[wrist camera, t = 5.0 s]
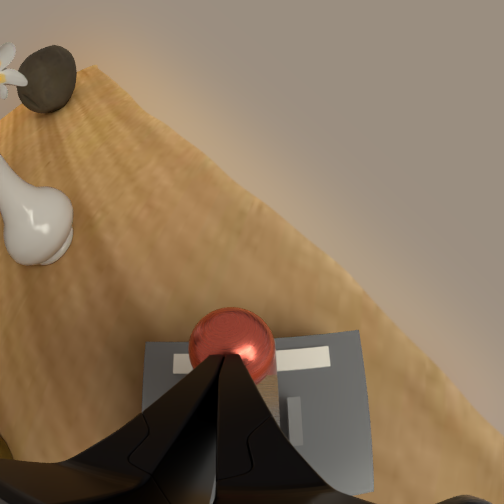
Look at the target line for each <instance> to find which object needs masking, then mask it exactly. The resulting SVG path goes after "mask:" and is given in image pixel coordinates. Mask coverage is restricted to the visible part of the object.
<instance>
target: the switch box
mask: <svg viewBox="0 0 504 504" xmlns="http://www.w3.org/2000/svg"><path fill="white" fill-rule="evenodd" d="M274 339H275V346H276V361H277V378H278V395H279V413H280V428H281V430H282V432H283V433H284V435H285V436H286V438H287V439H288V440H289V441H290V443H291V444H292V445H293V446H294V448H295V449H296V450H297V451H298V452H299V453H300V455H301V456H302V457H303V458H304V459H305V460H306V461H307V462H308V463H309V465H310V466H311V467H312V468H313V469H314V470H315V471H316V472H317V473H318V474H319V475H320V476H321V477H322V478H323V479H324V480H325V481H326V482H327V483H328V484H329V485H330V486H332V487H333V488H334V489H336V490H338V491H340V492H342V493H345V494H348V495H351V496H353V495H359V494H363V493H368V492H373V491H374V476H373V455H372V439H371V426H370V415H369V404H368V395H367V386H366V378H365V370H364V362H363V355H362V348H361V341H360V335H359V330H355V331H346V332H338V333H329V334H319V335H309V336H298V337H286V338H274ZM188 346H189V342H146V345H145V358H144V373H143V393H142V411H144V410H145V409H146V408H147V407H149V406H150V405H151V404H152V403H154V402H155V401H156V400H157V399H158V398H160V397H161V396H162V395H163V394H165V393H166V392H167V391H168V390H169V389H171V388H172V387H173V386H174V385H175V384H177V383H178V382H179V381H180V380H181V379H182V378H184V377H185V376H186V375H187V374H188V373H190V372H191V370H192V365H191V363H190V359H189V352H188ZM215 487H216V475H215V480H214V484H213V489H212V494H211V499H210V504H213V501H214V498H215Z"/></svg>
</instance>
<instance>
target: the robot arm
mask: <svg viewBox="0 0 504 504" xmlns="http://www.w3.org/2000/svg"><path fill="white" fill-rule="evenodd" d="M215 475H216V487H215V498H214V501H213V504H375V503H372V502H369V501H366V500H362V499H359V498H356V497H353V496H351V495H348V494H345V493H342V492H340V491H338V490H336V489H334V488H333V487H332V486H330V485H329V484H328V483H327V482H326V481H325V480H324V479H323V478H322V477H321V476H320V475H319V474H318V473H317V472H316V471H315V470H314V469H313V468H312V467H311V466H310V465H309V463H308V462H307V461H306V460H305V459H304V458H303V457H302V456H301V455H300V453H299V452H298V451H297V450H296V449H295V448H294V446H293V445H292V444H291V443H290V441H289V440H288V439H287V438H286V436H285V435H284V433H283V432H282V430H281V428H280V427H279V425H278V424H277V422H276V420H275V418H274V417H273V415H272V413H271V412H270V410H269V408H268V406H267V404H266V403H265V401H264V399H263V397H262V395H261V394H260V392H259V390H258V388H257V386H256V384H255V382H254V381H253V379H252V377H251V375H250V373H249V371H248V369H247V368H246V366H245V364H244V362H243V360H242V358H241V356H240V355H239V354H227V355H226V356H224V355H223V354H213V355H209V356H208V357H207V358H206V359H205V360H204V361H202V362H201V363H200V364H199V365H198V366H197V367H195V368H194V369H193V370H192V371H191V372H190V373H188V374H187V375H186V376H185V377H184V378H182V379H181V380H180V381H179V382H178V383H177V384H175V385H174V386H173V387H172V388H171V389H169V390H168V391H167V392H166V393H165V394H163V395H162V396H161V397H160V398H158V399H157V400H156V401H155V402H154V403H152V404H151V405H150V406H149V407H147V408H146V409H145V410H144V411H142V413H140V414H139V415H137V416H136V417H135V418H134V419H132V420H131V421H130V422H128V423H127V424H126V425H124V426H123V427H122V428H120V429H119V430H117V431H116V432H114V433H113V434H111V435H110V436H108V437H106V438H105V439H103V440H102V441H100V442H98V443H97V444H95V445H93V446H91V447H90V448H88V449H86V450H85V451H83V452H81V453H79V454H78V455H76V456H74V457H72V458H70V459H68V460H65V461H62V462H58V463H39V462H27V461H18V460H10V459H3V458H0V504H210V499H211V494H212V489H213V484H214V480H215ZM437 504H492V503H490V502H488V501H486V500H484V499H480V498H477V497H474V496H470V495H460V496H456V497H452V498H450V499H447V500H444V501H442V502H439V503H437Z"/></svg>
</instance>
